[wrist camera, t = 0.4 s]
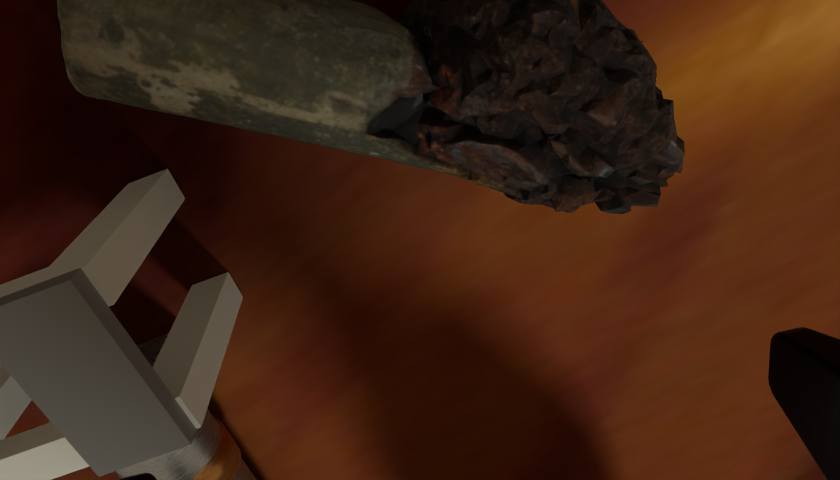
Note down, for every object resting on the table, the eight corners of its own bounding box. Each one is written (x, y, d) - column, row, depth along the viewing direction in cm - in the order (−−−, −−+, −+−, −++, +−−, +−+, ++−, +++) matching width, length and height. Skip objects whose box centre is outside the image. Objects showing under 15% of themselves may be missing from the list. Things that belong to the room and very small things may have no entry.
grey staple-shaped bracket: (243, 297, 23) (196, 442, 16) (22, 376, 24) (-110, 549, 17) (167, 168, 21) (75, 278, 14) (-76, 261, 21) (-277, 409, 15)
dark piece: (115, 81, 20) (29, 126, 15) (131, -154, 17) (34, -199, 12) (603, 200, 23) (672, 270, 18) (680, 20, 20) (787, 43, 15)
